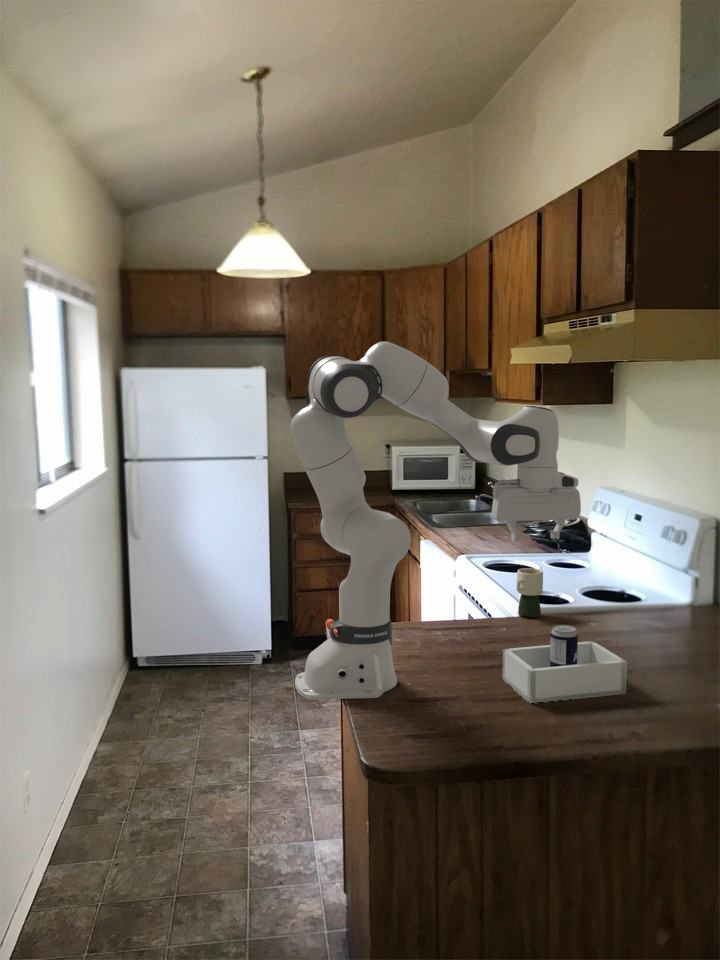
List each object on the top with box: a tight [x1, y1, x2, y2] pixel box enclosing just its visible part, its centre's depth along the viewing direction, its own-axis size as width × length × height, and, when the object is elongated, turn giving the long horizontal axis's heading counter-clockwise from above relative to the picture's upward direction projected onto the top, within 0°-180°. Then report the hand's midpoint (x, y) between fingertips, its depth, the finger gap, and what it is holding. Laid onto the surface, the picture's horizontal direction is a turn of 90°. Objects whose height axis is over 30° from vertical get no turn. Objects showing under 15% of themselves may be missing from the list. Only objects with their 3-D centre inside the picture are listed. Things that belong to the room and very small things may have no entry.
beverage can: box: [549, 624, 579, 667], centre depth 172 cm, size 6×6×12 cm
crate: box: [501, 640, 628, 705], centre depth 172 cm, size 22×14×7 cm, turn 103°
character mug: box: [516, 567, 544, 618], centre depth 224 cm, size 11×7×13 cm, turn 129°
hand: (535, 539), depth 180 cm, fingers open, 8 cm apart
